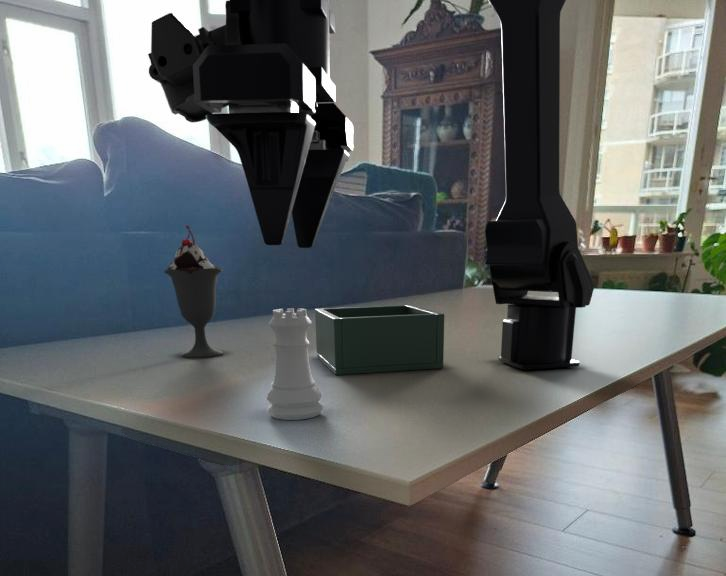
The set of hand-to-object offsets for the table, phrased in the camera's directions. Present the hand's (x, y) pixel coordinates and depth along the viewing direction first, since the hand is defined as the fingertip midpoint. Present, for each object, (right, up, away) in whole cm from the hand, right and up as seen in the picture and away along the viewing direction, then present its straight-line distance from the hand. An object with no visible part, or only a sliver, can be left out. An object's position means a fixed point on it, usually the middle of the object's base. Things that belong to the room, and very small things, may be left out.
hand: (290, 246), depth 47 cm
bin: (+7, -3, +27) cm, 28 cm away
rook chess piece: (0, -12, +5) cm, 13 cm away
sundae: (-15, -1, +35) cm, 38 cm away
